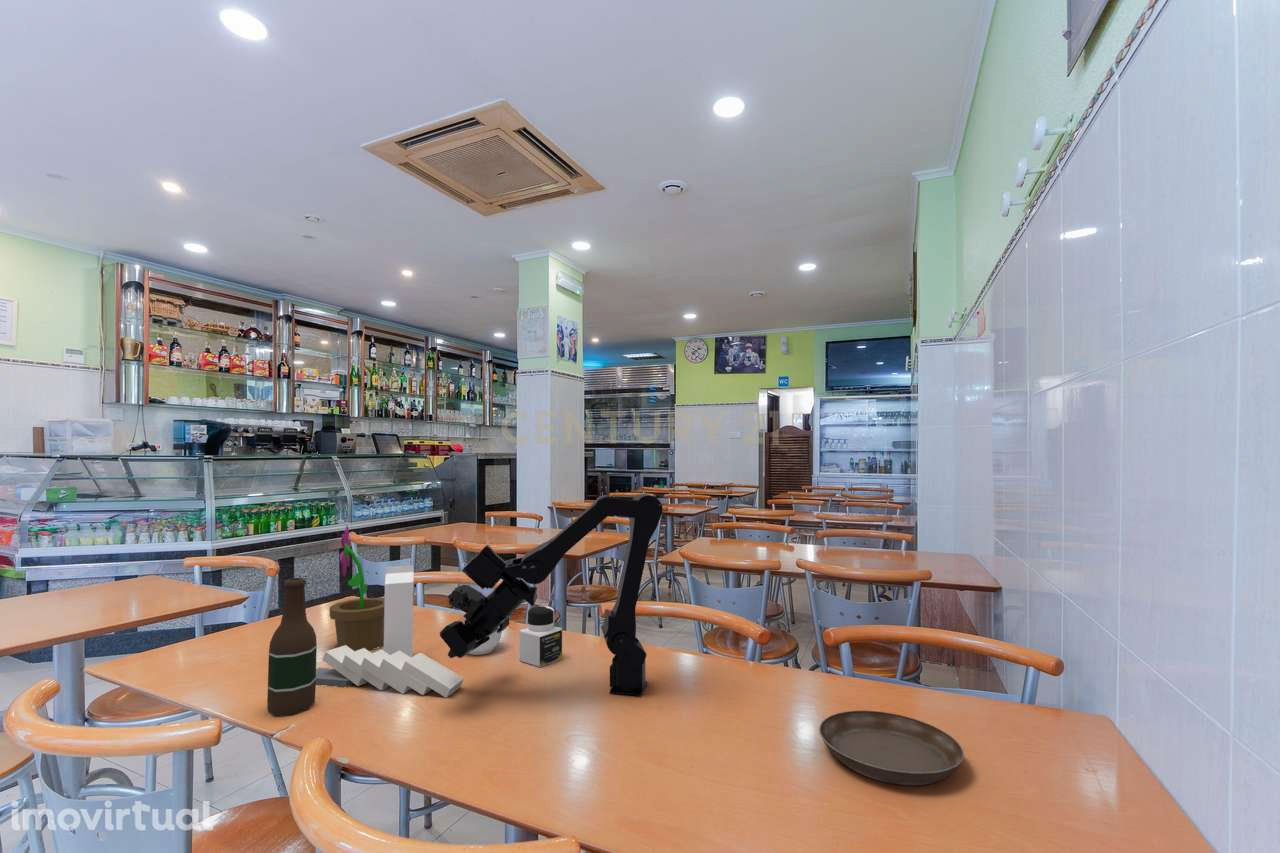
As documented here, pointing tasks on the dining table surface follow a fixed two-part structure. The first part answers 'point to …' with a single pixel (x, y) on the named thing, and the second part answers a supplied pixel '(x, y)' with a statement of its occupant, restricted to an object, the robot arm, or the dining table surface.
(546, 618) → the medicine bottle
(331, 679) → the domino
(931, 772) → the plant saucer
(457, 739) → the dining table surface
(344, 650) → the domino
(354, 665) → the domino
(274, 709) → the beer bottle
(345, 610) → the flowerpot
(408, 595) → the milk
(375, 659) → the domino
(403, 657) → the domino
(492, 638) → the lidded jar
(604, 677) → the dining table surface
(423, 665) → the domino
